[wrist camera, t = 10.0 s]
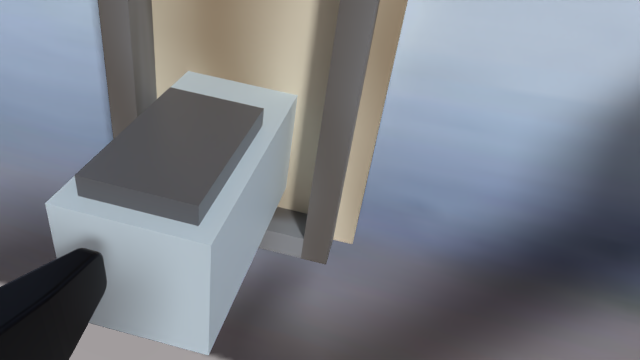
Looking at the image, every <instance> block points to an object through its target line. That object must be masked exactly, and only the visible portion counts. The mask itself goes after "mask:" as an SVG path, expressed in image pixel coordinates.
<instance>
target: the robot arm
mask: <svg viewBox="0 0 640 360" xmlns="http://www.w3.org/2000/svg"><path fill="white" fill-rule="evenodd" d="M106 287H107V277H106V271H105V265H104V259H103V255H102V254H101V253H100V252H98V251H94V250H90V249H87V248H78V249H75V250H73V251H71V252H69V253H67V254H65V255H63V256H61V257H59V258H57V259H55V260H53V261H51V262H49V263H47V264H45V265H43V266H41V267H39V268H37V269H35V270H33V271H31V272H29V273H27V274H25V275H23V276H21V277H19V278H17V279H15V280H13V281H11V282H9V283H7V284H5V285H3V286H1V287H0V360H69V358H70V356H71V355H72V353H73V351H74V349H75V347H76V345H77V343H78V342H79V340H80V338H81V336H82V334H83V332H84V330H85V329H86V327H87V325H88V323H89V321H90V319H91V317H92V316H93V314H94V312H95V310H96V308H97V306H98V304H99V303H100V301H101V299H102V297H103V295H104V293H105V290H106Z"/></svg>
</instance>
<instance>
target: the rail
mask: <svg viewBox="0 0 640 360" xmlns="http://www.w3.org/2000/svg"><path fill="white" fill-rule="evenodd" d="M407 2H408V0H98V6H99V15H100V24H101V33H102V42H103V51H104V60H105V68H106V77H107V86H108V95H109V104H110V113H111V122H112V130H113V139H114V138H115V137H117V136H118V135H119V134H120V133H121V132H122V131H123V130H124V129H125V128H126V127H127V126H128V125H130V124H131V123H132V122H133V121H134V120H135V119H136V118H137V117H138V116H139V115H140V114H141V113H143V112H144V111H145V110H146V109H147V108H148V107H149V106H150V105H151V104H152V103H153V102H154V101H156V100H157V99H158V98H159V97H160V96H161V95H162V94H163V93H164V92H165V91H166V90H167V89H169V88H170V87H171V86H172V85H173V84H174V83H176V82H177V81H178V80H179V79H180V78H181V77H182V76H183V75H184V74H185V73H186V72H187V71H191V72H195V73H200V74H204V75H209V76H213V77H218V78H222V79H227V80H231V81H236V82H240V83H245V84H249V85H254V86H258V87H263V88H267V89H272V90H276V91H280V92H285V93H289V94H294V95H298V97H297V105H296V113H295V121H294V129H293V137H292V145H291V152H290V160H289V168H288V176H287V184H286V189H285V191H284V193H283V195H282V197H281V200H280V202H279V204H278V206H277V208H276V210H275V213H274V215H273V217H272V219H271V221H270V223H269V226H268V228H267V230H266V232H265V234H264V236H263V239H262V241H261V243H260V245H259V247H258V248H261V249H265V250H269V251H273V252H278V253H282V254H286V255H290V256H294V257H298V258H302V259H306V260H310V261H314V262H318V263H322V264H326V262H327V259H328V255H329V252H330V249H331V245H332V242H333V240H337V241H341V242H345V243H349V244H352V243H353V239H354V235H355V231H356V227H357V222H358V218H359V214H360V209H361V205H362V200H363V196H364V192H365V187H366V183H367V178H368V174H369V169H370V165H371V161H372V156H373V152H374V147H375V143H376V139H377V134H378V130H379V125H380V121H381V116H382V112H383V108H384V103H385V99H386V94H387V90H388V86H389V81H390V77H391V72H392V68H393V63H394V59H395V55H396V50H397V46H398V41H399V37H400V33H401V28H402V24H403V19H404V15H405V11H406V6H407Z"/></svg>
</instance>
